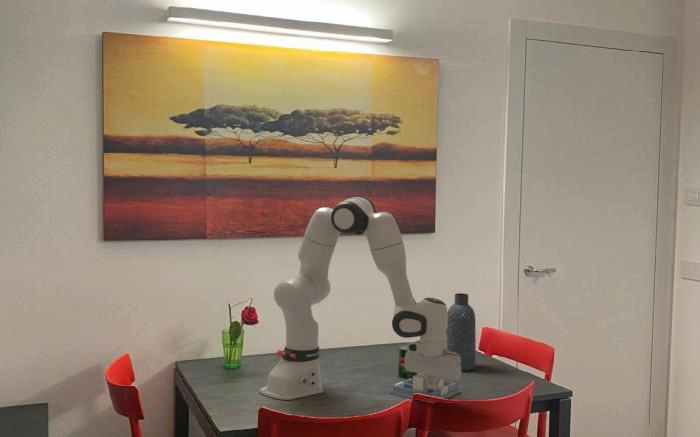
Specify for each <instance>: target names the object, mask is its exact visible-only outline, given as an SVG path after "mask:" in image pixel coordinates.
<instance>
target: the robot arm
mask: <svg viewBox="0 0 700 437" xmlns="http://www.w3.org/2000/svg"><path fill="white" fill-rule="evenodd" d="M340 234H346V235H359V236H360V235H364V236H365V237H366V239H367V242H368V245H369V250H370V253H371V256H372V259H373V260H372V261H373V262H374V264H375V266H376V268H377V270H379V272H381V273H382V274H383V275H384V276H385V277H386V279H387V281H388V283H389V286H390V290H391V292H392V296H393V300H394V311H393V312H394V313H393V317H392V321H391V326H392V330H393V332H394V333H395V334H396V335H398V337H400V338H404V339H407V338H410V339H411V338H417V337H419V340H417V341H413V342H410V343H408V344H406V345H407V350H408V351H407V352H406V355H405V368H406V370H407V371H411V372H415V373H419V374H424V378H425V380H426V383H427V388H428V389H432V390H436V389H437V384H438V382H439V381H440V379H444V381H446V380H447V381H449V382H451V381H452V382H457V381H459V380H460V379H461V378H462V371H461V357H460V356H459V355H458V354H457V353H456V352H451V351H448V350H447V336H446V330H447V326H448V314H447V312H448V307H447V305H446V303H445V302H444V301H443V300H441V299H438V298H435V297H424V298H423V299H422V300H420V301H419V302H417V301H416V299H414V298H415V297H414V296H413V293H412V290H411V289H412V288H411V287H410V283H409V279H408V274H407V256H406V249H405V243H404V239H403V237H402V233H401V231H400V227H399V225H398V223H397V221H396V219H395V218H394V215H392V213H389V212H386V211H380V212H377V211H376V207H375V204H374V202H373V201H372V200H371V199H369V198H368V197H365V196H362V195H359V196H358V195H357V196H354V197H349V198H347V199H344V200H343V201H340V202H339V203H337V204H336V205H335V206H334V208H331V207H326V206H325V207H323V206H322V207H319V208H317V209H316V210H315V212H313V214H312V216H311V218H310V220H309V222H308V224H307V226H306V229H305V231H304V235H303V238H302V241H301V244H300V247H299V250H298V252H297V255H298V256H297V257H298V259H299V260H298V261H300V267H299V268H300V269H299V272H298V274H297V275H296V276H291V277H288V278H286V279H284V280H283V281H280V283H278V284H277V285H276V287H275V288H274V292H273V298H274V301H275V304H276V305H277V306H278V307H279V308H280V310H281V311H282V314H283V318H284V323H285V339H286V340H285V346H284V349H283V350H282V349H278V350H277V351H276V355H277V356H279V357H281V360H279V362H277V364H276V365H275V367H273V369H272V370H271V371H270V372H269V374H268V375H267V380H266V386H263V387H261V388H259V393H260V394H261V395H263V396H266V397H268V398H269V397H270V398H273V399H275V400H276V399H277V400H284V401H285V400H286V401H288V400H289V401H290V400H295V399H299V398H303V397H308V396H312V395H317V394H321V393H324V388H323V385H322V384H323V383H322V376H321V375H322V374H321V367H320V363H319V358H320V353H321V352H320V346H319V324H318V322H317V321H316V320H315V319H314V316H313V313H312V312H313V311H312V306H314V305H316V304H319V303H321V302H322V301H323V300H325V299H326V298H327V297H328V296H329V294H330V293H331V283H330V281H329V268H330V264H331V260H332V257H333V254H334V251H335V248H336V244H337V243H338V239H339V236H340ZM457 355H458V356H457ZM431 376H432V377H434V380H435V381H434V383H432V382H431V379H430V377H431Z"/></svg>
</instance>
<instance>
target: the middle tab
mask: <svg viewBox="0 0 700 437" xmlns="http://www.w3.org/2000/svg"><path fill="white" fill-rule="evenodd" d="M430 379H431V382H432V383H434V381H435V380H434V377H432V376H431V377H430ZM444 381H445V379H440V381H439V382H438V384H437V389H436V390H439V389H440V388H443V387H444Z"/></svg>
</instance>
